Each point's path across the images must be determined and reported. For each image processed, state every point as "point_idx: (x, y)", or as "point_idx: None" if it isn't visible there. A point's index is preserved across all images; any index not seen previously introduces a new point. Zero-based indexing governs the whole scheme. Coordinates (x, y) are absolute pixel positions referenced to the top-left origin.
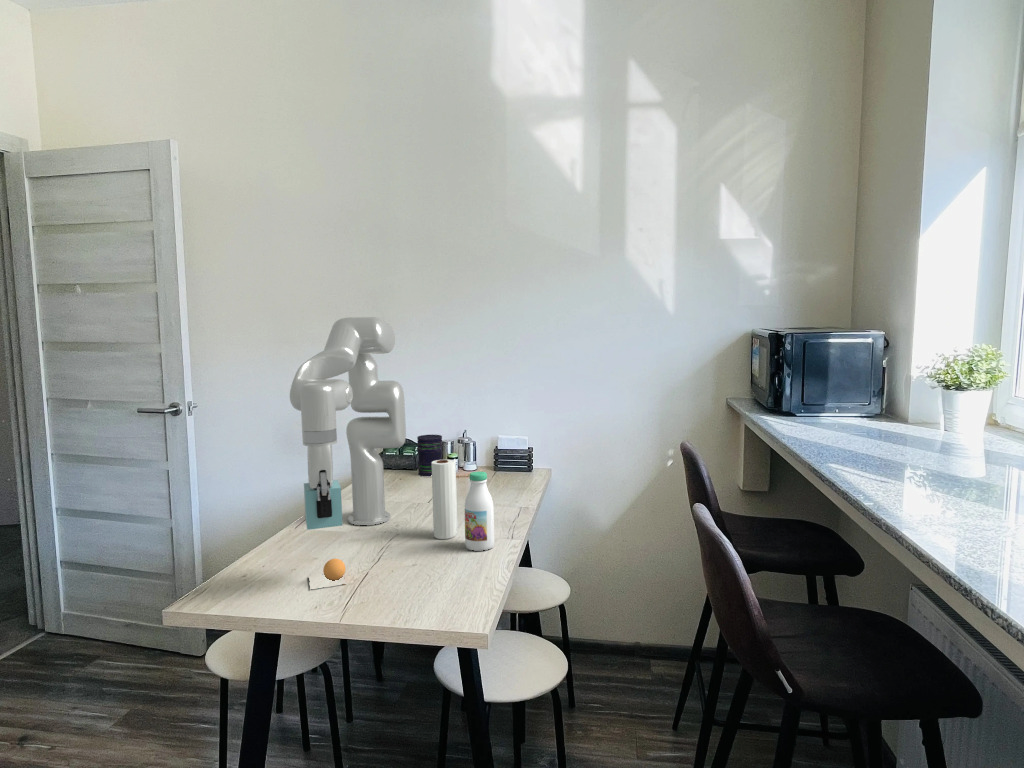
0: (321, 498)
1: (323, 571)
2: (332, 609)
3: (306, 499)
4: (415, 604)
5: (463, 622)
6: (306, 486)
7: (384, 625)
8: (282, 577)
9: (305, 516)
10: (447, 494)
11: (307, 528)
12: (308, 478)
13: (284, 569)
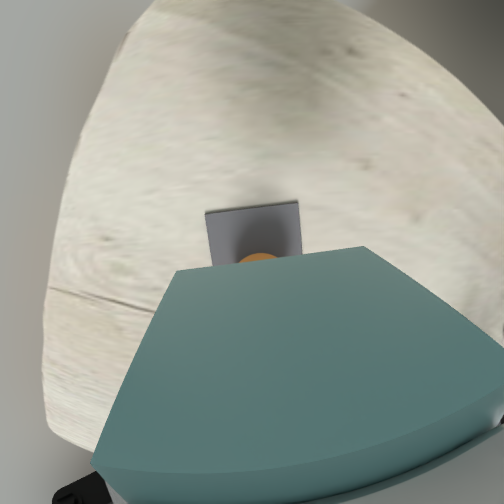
0: (95, 476)
1: (256, 254)
2: (93, 273)
3: (123, 395)
4: (110, 399)
5: (65, 426)
6: (383, 456)
7: (44, 350)
8: (318, 136)
9: (355, 256)
10: None
11: (175, 275)
12: (487, 490)
13: (371, 141)
